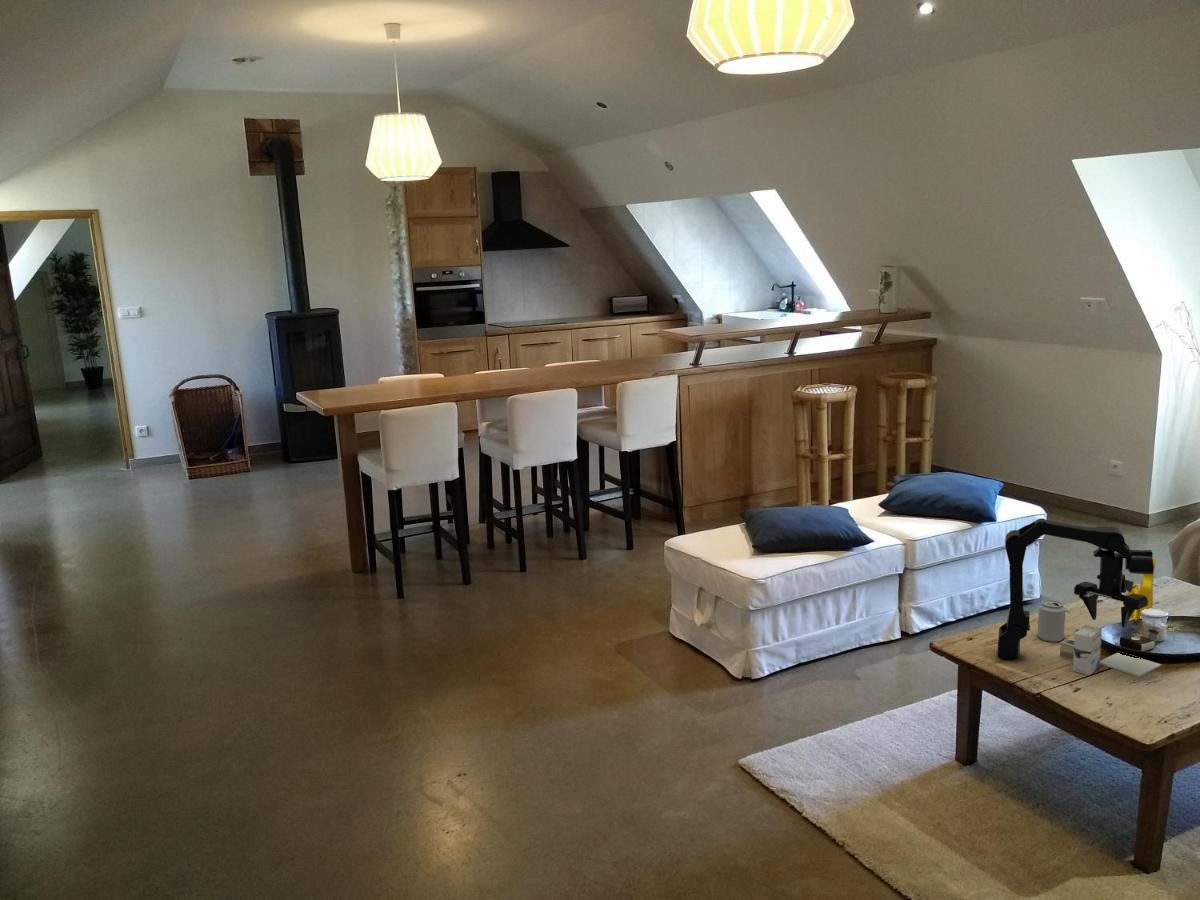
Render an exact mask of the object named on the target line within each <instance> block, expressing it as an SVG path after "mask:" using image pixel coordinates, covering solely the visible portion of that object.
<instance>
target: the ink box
mask: <svg viewBox="0 0 1200 900" xmlns="http://www.w3.org/2000/svg"><path fill="white" fill-rule="evenodd" d="M1102 630H1103V629H1102V628H1099V627H1094V626H1089V625H1084V626H1082V627H1081V628H1080V629H1079V630H1077V631H1076V632H1074V639H1073V640H1074V657H1073V660H1072V671H1073V672H1075V673H1076V672H1077V673H1079V674H1083V675H1086V676H1091V675H1092V674H1093V673H1094V672H1095V671H1097V669H1098V668H1100V666H1101V664H1100V661H1101V648H1102V647H1101V645H1102Z"/></svg>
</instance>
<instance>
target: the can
mask: <svg viewBox="0 0 1200 900" xmlns="http://www.w3.org/2000/svg"><path fill="white" fill-rule="evenodd" d="M1065 623H1066V607H1065V606H1064V603H1063V602H1062V601H1059V600H1055V599H1044V600H1041V603H1040V604H1039V606H1038V624H1037V636H1038V637H1039V638H1040V639H1041V640H1043V641H1045V642H1049V643H1057V642H1062V641H1063V639H1064V638H1065V625H1066V624H1065Z"/></svg>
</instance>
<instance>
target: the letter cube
mask: <svg viewBox="0 0 1200 900" xmlns="http://www.w3.org/2000/svg"><path fill="white" fill-rule="evenodd" d="M1059 642H1060V646H1059V647H1060V648H1059V657H1062V658H1065V659H1068V660H1071V661H1073V657H1074V639H1071V638H1067V639H1065V640H1061V641H1059Z"/></svg>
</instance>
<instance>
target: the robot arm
mask: <svg viewBox="0 0 1200 900" xmlns="http://www.w3.org/2000/svg"><path fill="white" fill-rule="evenodd" d="M1044 535H1045V536H1052V537H1057V538H1060V539H1061V538H1062V539H1068V540H1073V541H1080V542H1085V543H1088V544H1092V545H1094V546H1095V547H1097V549H1095V550H1094V551H1092V554H1093V557H1094V558H1099V559H1100V561H1099V574H1097V575H1096V580H1099V581H1098V585H1099V586H1098V585H1097V583H1093V582H1089V581H1081V582H1080V583H1077V584H1075V585H1074V587H1073V594H1074V595H1077V596H1078V598H1079V599H1081V601H1082V602H1083V603H1084V605H1085V607H1086V609H1087V611H1088V612H1089V615H1090V617H1091V619H1092V620H1094V621H1096V619H1097V614H1098V612H1097V610H1098V608H1097V606H1098V603H1097V602H1098V599H1099V597H1103V598H1106V599H1111V600H1115V601H1118V602H1122V604H1123V605H1122V606H1121V607H1120V616H1121V618H1120V620H1121V622H1120V623H1121V628H1122V629H1125V628H1126V627H1127V625H1128V623H1129V621H1130V619H1131V618H1130V617H1131V615H1132V613H1133V612H1134V611H1135V610H1139V609H1141V608H1143V607H1146V606H1148V599H1147V598H1146V596H1143V595H1139V594H1135V593H1133V594H1131V595H1128V596H1126V594H1127V593H1128V592H1132V587H1133V586H1134V581H1131V580H1128V579H1126V575H1125V574H1123V571H1124V570H1126V571H1127V570H1128V573H1130V574H1136V575H1143V574H1149V575H1153V570H1154V564H1153V557H1154V556H1153V550H1151V549H1144V550H1141V549H1130V546H1129V544H1127V543H1126V540H1125V538H1124V537H1125V536H1124V534H1123V532H1122V531H1121V530H1120V529H1119V528H1117V527H1116V526H1115V527H1114V526H1094V527H1093V526H1092V527H1091V526H1090V527H1089V526H1083V525H1078V524H1071V523H1066V522H1060V521H1055V520H1050V519H1049V520H1047V519H1045V518H1037V519H1036V520H1035V521H1033V522H1032V523H1028V524H1027V525H1024V526H1021V528H1019V529H1014V530H1010V531H1009V532H1008V533H1006V534H1005V540H1004V541H1005V545H1004V546H1005V550H1006V556H1007V560H1008V562H1009V564H1008V565H1009V608H1008V613H1007V618H1006V622H1005V623H1004V624H1002V625H1001V626H999V628H998V640H997V658H998V659H1001V660H1005V661H1016V660H1019V658H1020V654H1021V653H1020V651H1021V640H1023V639H1024V638H1025V637H1027V635H1028V632H1029V631H1031V627H1030V625H1031V623H1030V618H1031V617H1030V610H1026V611H1025V608H1024V577H1023V576H1024V575H1023V574H1024V573H1023V564H1024V560H1025V557H1026V551H1027V547H1028V546H1031V545H1032V544H1033V543H1034V542H1036V541H1037V540H1038V539H1039V538H1041V537H1043V536H1044ZM1123 566H1124V568H1125V569H1123ZM1154 571H1155V570H1154Z"/></svg>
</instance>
